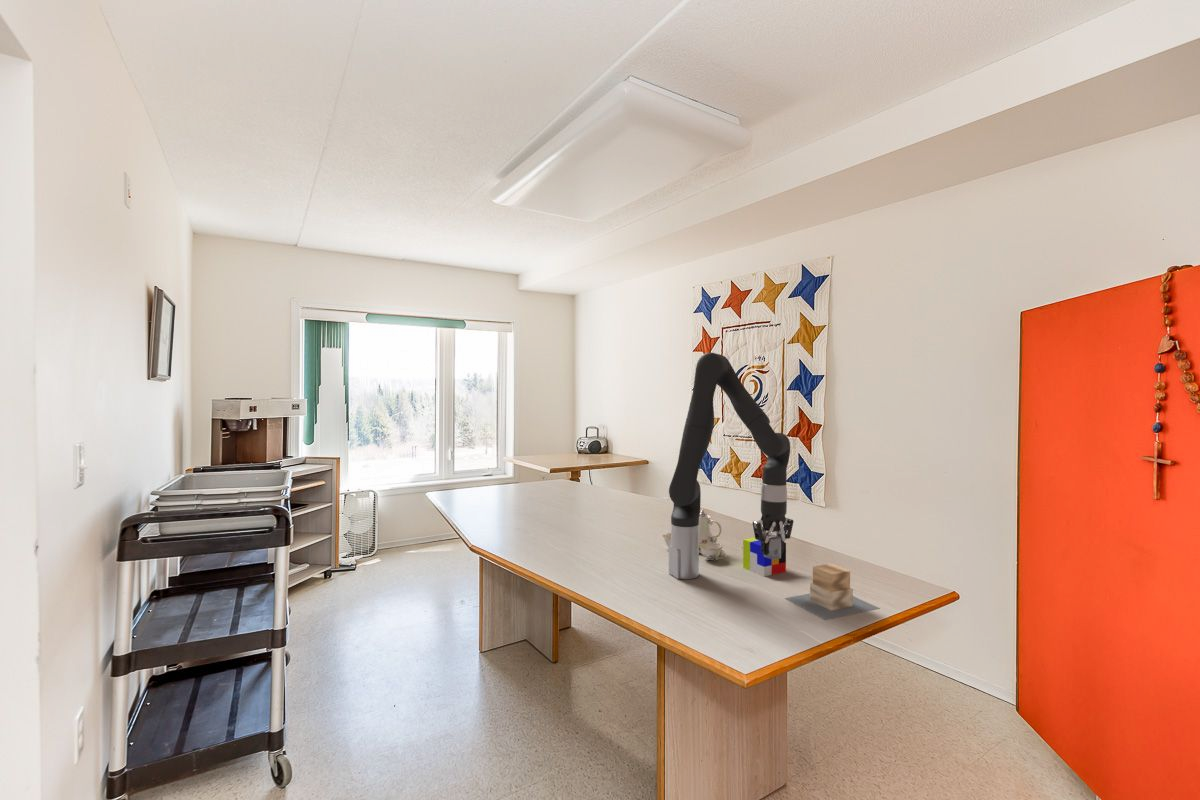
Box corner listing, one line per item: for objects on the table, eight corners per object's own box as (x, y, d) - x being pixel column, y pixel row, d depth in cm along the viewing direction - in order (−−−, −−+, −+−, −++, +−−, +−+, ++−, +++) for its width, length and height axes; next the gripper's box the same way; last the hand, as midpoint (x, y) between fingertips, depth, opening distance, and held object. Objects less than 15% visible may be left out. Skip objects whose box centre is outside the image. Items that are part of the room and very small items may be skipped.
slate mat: (825, 622, 144) (825, 619, 144) (784, 600, 158) (784, 598, 158) (880, 610, 151) (880, 608, 151) (836, 590, 166) (836, 588, 166)
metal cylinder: (770, 559, 161) (771, 540, 161) (760, 554, 166) (760, 535, 165) (784, 558, 163) (784, 538, 162) (773, 553, 167) (774, 534, 167)
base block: (831, 610, 150) (831, 592, 149) (810, 600, 157) (810, 583, 157) (852, 606, 152) (852, 588, 152) (831, 596, 160) (831, 579, 160)
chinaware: (655, 553, 209) (653, 512, 207) (679, 540, 221) (677, 501, 219) (719, 570, 190) (717, 524, 188) (741, 554, 202) (739, 511, 200)
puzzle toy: (764, 576, 178) (764, 547, 178) (743, 567, 187) (743, 539, 187) (785, 571, 183) (786, 542, 183) (764, 563, 192) (764, 535, 192)
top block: (831, 592, 150) (831, 574, 150) (812, 583, 157) (812, 566, 156) (850, 588, 153) (850, 571, 152) (831, 580, 159) (831, 563, 159)
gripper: (762, 502, 157) (761, 559, 158) (801, 499, 163) (799, 554, 163) (746, 497, 164) (745, 552, 165) (784, 494, 170) (782, 547, 170)
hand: (772, 553), depth 164 cm, fingers closed on metal cylinder, 5 cm apart
